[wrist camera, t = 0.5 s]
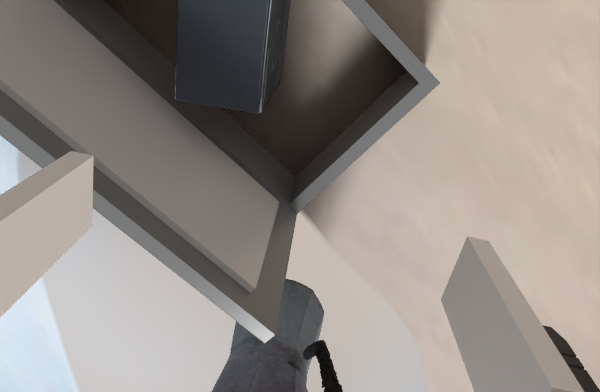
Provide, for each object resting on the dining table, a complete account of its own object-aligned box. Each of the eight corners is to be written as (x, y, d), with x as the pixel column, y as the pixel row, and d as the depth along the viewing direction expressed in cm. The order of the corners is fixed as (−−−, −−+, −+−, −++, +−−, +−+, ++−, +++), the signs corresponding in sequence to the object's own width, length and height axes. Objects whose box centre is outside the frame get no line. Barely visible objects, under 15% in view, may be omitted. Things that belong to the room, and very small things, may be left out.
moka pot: (200, 322, 48) (118, 520, 30) (298, 232, 43) (271, 403, 25) (267, 373, 51) (228, 586, 32) (368, 292, 45) (391, 491, 27)
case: (54, -16, 36) (-237, -30, 18) (174, -204, 31) (-64, -499, 12) (289, 196, 42) (254, 351, 24) (424, 70, 37) (513, 143, 18)
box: (220, -29, 35) (175, -39, 25) (293, -18, 35) (277, -23, 25) (213, 75, 38) (171, 102, 28) (280, 86, 38) (261, 116, 28)
